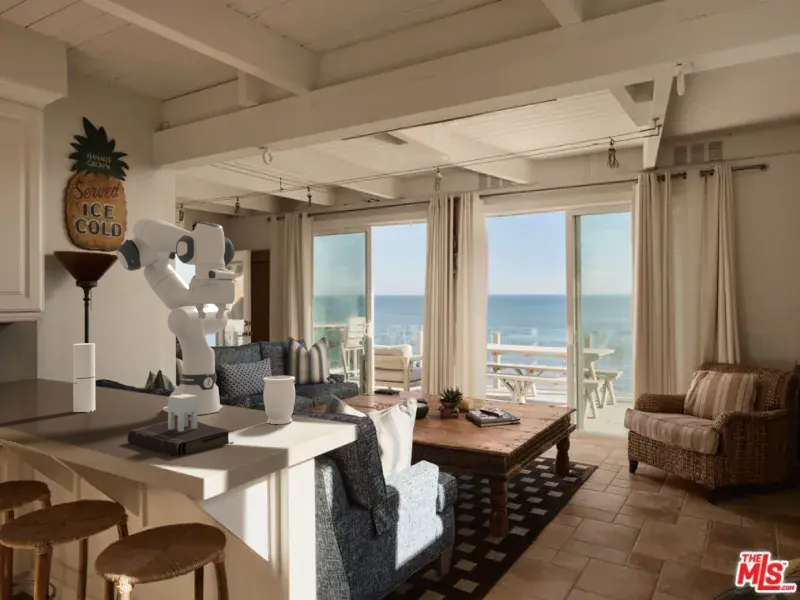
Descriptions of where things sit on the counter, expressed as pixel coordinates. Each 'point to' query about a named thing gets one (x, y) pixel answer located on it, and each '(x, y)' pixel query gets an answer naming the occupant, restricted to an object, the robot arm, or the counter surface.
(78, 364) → the miniature refrigerator
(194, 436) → the diary
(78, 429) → the counter surface
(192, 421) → the stool
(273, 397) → the jar
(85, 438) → the counter surface
